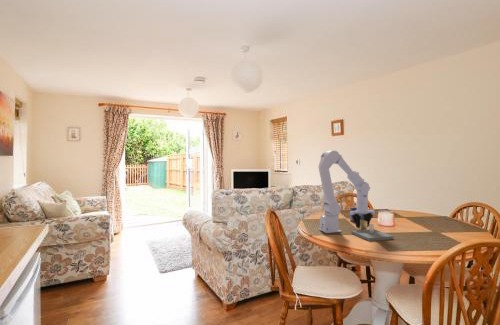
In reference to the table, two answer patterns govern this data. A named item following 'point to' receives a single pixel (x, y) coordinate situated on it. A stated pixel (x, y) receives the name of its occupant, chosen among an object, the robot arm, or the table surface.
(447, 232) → the table surface
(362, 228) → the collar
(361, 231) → the post block
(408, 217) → the table surface
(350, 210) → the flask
